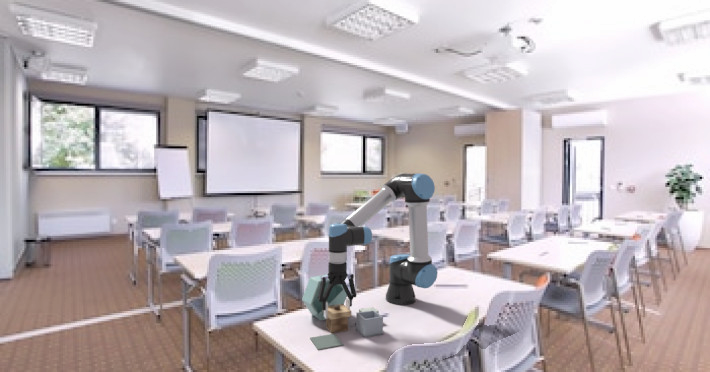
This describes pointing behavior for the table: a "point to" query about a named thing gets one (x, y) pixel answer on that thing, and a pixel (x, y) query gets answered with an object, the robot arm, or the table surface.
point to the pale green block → (368, 309)
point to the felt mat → (326, 341)
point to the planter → (312, 291)
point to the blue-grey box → (369, 323)
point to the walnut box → (337, 324)
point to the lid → (338, 311)
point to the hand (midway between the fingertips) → (336, 315)
